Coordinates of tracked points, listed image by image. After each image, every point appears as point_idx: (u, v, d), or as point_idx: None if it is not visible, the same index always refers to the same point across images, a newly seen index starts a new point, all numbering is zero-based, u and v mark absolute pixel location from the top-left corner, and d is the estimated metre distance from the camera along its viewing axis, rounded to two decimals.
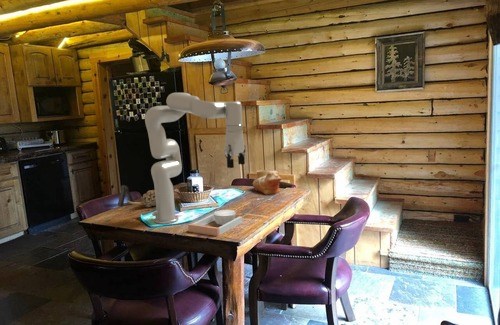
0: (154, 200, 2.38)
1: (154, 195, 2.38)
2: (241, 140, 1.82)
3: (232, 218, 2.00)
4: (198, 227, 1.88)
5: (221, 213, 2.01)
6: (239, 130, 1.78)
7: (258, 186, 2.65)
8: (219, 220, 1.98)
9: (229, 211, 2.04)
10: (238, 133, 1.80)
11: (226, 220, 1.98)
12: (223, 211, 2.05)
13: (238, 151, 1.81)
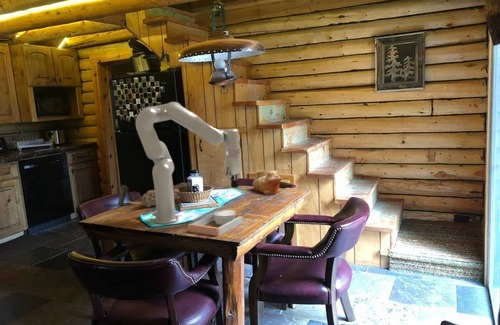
0: (154, 200, 2.38)
1: (154, 195, 2.37)
2: (239, 162, 2.08)
3: (232, 218, 2.00)
4: (198, 227, 1.88)
5: (221, 213, 2.01)
6: (237, 154, 2.04)
7: (258, 186, 2.65)
8: (219, 220, 1.98)
9: (229, 211, 2.04)
10: (236, 156, 2.05)
11: (226, 220, 1.98)
12: (223, 211, 2.05)
13: (236, 172, 2.07)
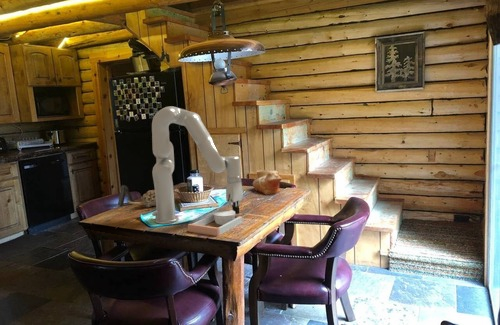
0: (154, 200, 2.38)
1: (154, 195, 2.38)
2: (240, 189, 2.10)
3: (232, 218, 2.00)
4: (198, 227, 1.88)
5: (221, 213, 2.01)
6: (238, 181, 2.06)
7: (258, 186, 2.65)
8: (219, 220, 1.98)
9: (229, 211, 2.04)
10: (237, 184, 2.08)
11: (226, 220, 1.98)
12: (223, 211, 2.05)
13: (237, 199, 2.09)
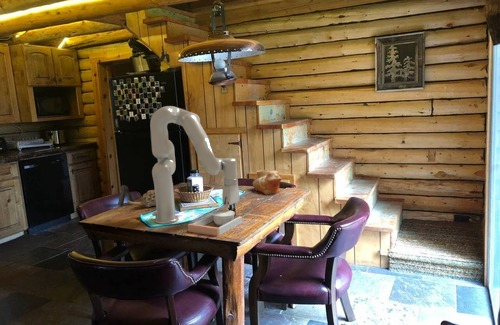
0: (154, 200, 2.38)
1: (154, 195, 2.37)
2: (236, 191, 2.07)
3: (231, 218, 1.99)
4: (198, 227, 1.88)
5: (220, 213, 2.00)
6: (235, 184, 2.04)
7: (258, 186, 2.65)
8: (218, 221, 1.98)
9: (228, 211, 2.03)
10: (234, 186, 2.05)
11: (226, 221, 1.97)
12: (222, 211, 2.04)
13: (234, 201, 2.06)
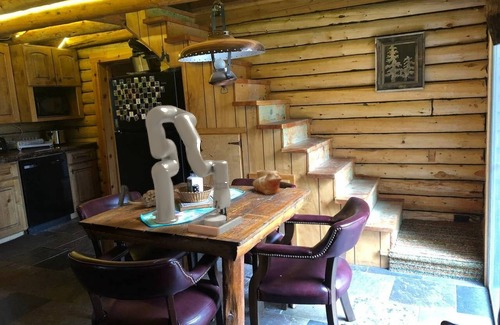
0: (154, 200, 2.38)
1: (154, 195, 2.38)
2: (228, 195, 2.00)
3: (223, 223, 1.91)
4: (198, 227, 1.88)
5: (211, 218, 1.93)
6: (226, 187, 1.96)
7: (258, 186, 2.65)
8: None
9: (220, 216, 1.96)
10: (225, 189, 1.97)
11: (217, 226, 1.90)
12: (213, 215, 1.97)
13: (225, 206, 1.99)
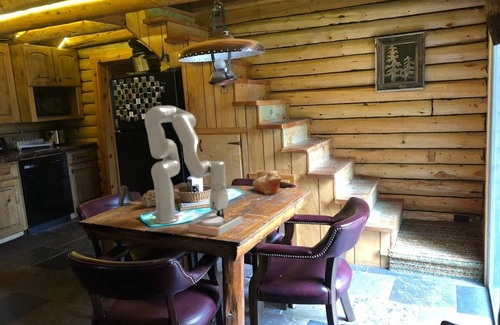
0: (154, 200, 2.38)
1: (154, 195, 2.38)
2: (225, 196, 1.98)
3: (220, 225, 1.89)
4: (198, 227, 1.88)
5: (209, 220, 1.90)
6: (223, 188, 1.94)
7: (258, 186, 2.65)
8: None
9: (217, 218, 1.94)
10: (222, 191, 1.95)
11: None
12: (210, 217, 1.95)
13: (222, 207, 1.97)
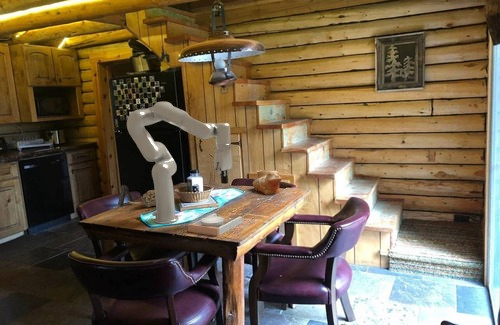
0: (154, 200, 2.38)
1: (154, 195, 2.37)
2: (229, 158, 2.02)
3: (220, 225, 1.89)
4: (198, 227, 1.88)
5: (209, 220, 1.90)
6: (227, 149, 1.98)
7: (258, 186, 2.64)
8: None
9: (217, 218, 1.94)
10: (226, 152, 1.99)
11: None
12: (210, 217, 1.95)
13: (226, 168, 2.01)
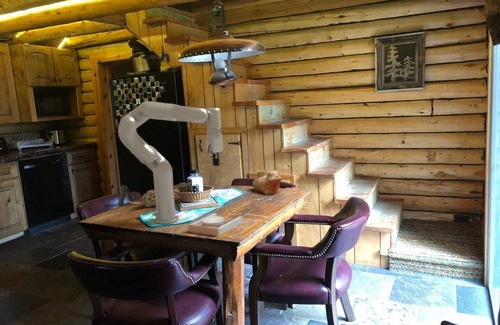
0: (154, 200, 2.38)
1: (154, 195, 2.38)
2: (220, 141, 2.12)
3: (220, 225, 1.89)
4: (198, 227, 1.88)
5: (209, 220, 1.90)
6: (218, 132, 2.08)
7: (258, 186, 2.64)
8: None
9: (217, 218, 1.94)
10: (217, 135, 2.10)
11: None
12: (210, 217, 1.95)
13: (217, 150, 2.11)
